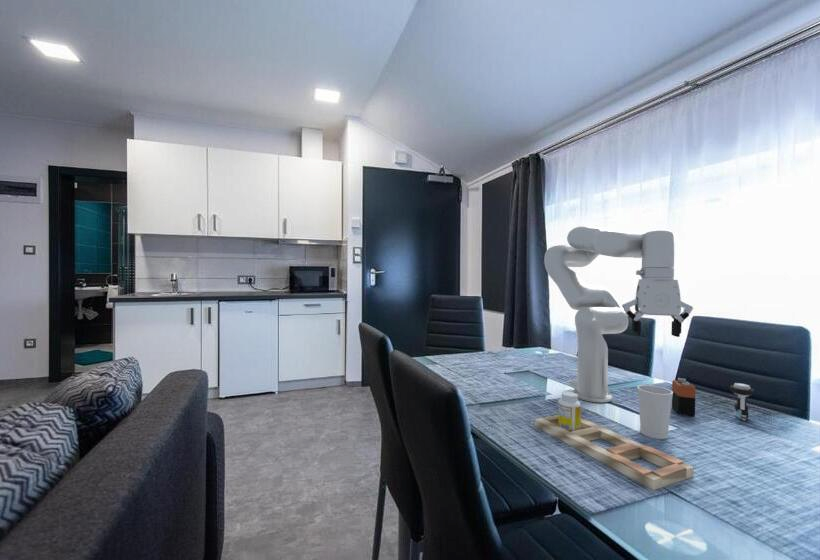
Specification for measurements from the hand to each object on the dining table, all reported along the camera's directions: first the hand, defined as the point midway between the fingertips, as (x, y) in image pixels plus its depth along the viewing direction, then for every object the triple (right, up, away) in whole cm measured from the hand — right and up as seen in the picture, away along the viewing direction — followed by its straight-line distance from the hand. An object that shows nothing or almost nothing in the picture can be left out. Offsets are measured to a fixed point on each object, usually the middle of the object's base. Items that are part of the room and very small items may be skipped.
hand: (656, 335), depth 103 cm
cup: (-3, -26, -4) cm, 27 cm away
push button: (+31, -26, +7) cm, 41 cm away
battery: (+17, -26, +12) cm, 33 cm away
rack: (-22, -26, -13) cm, 36 cm away
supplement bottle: (-26, -26, -3) cm, 37 cm away
